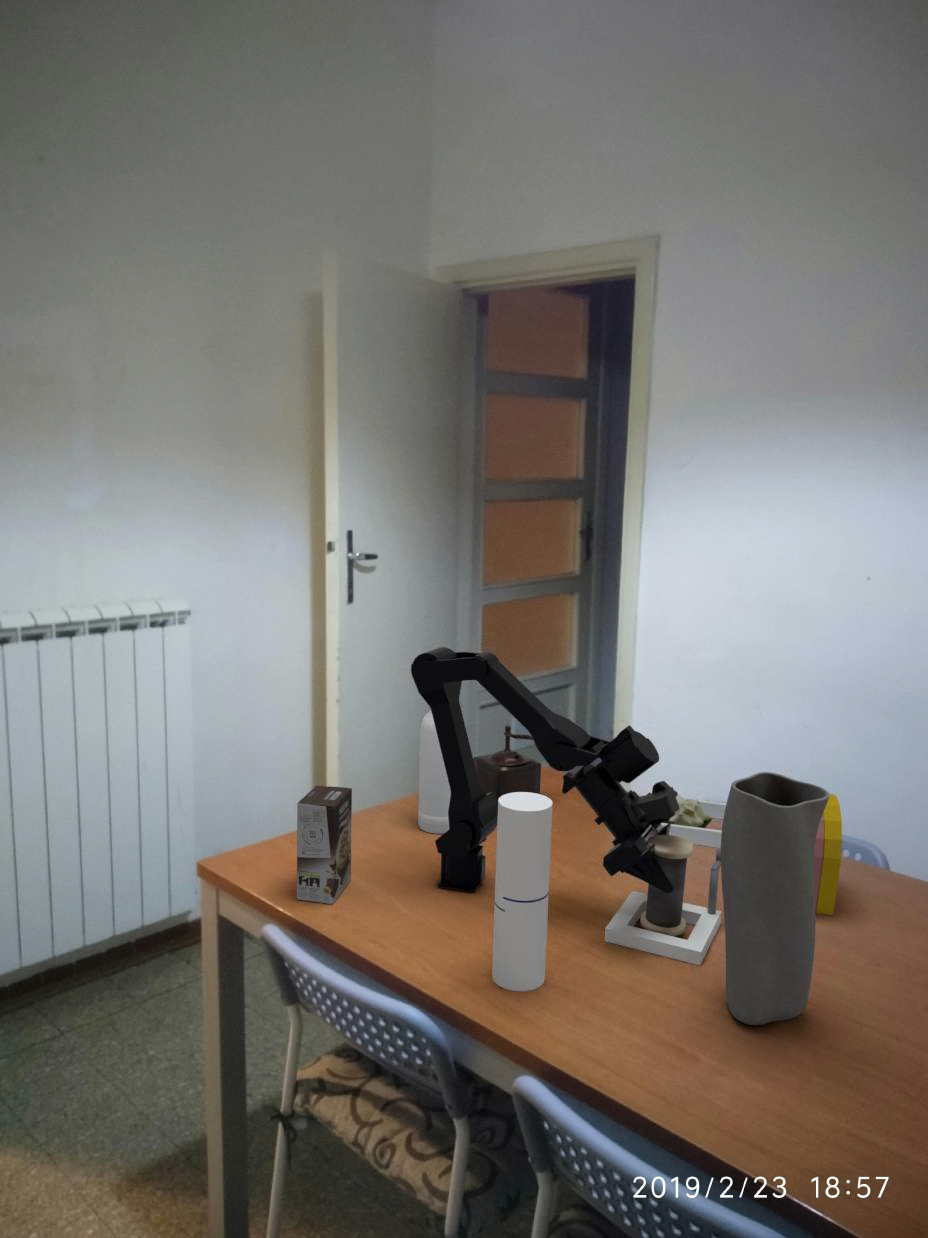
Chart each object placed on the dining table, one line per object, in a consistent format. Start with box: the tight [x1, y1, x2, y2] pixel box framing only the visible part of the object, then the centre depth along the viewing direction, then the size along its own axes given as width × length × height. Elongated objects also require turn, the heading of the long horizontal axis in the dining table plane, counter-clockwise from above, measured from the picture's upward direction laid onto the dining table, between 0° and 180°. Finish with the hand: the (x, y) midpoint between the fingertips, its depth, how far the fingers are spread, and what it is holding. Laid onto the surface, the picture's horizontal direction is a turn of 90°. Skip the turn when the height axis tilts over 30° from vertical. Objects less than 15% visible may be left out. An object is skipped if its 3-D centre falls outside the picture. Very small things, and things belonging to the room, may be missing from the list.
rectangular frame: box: [604, 848, 722, 966], centre depth 142 cm, size 14×16×11 cm
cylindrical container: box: [491, 792, 553, 992], centre depth 127 cm, size 7×7×25 cm
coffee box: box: [296, 785, 353, 905], centre depth 152 cm, size 9×6×16 cm
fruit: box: [663, 794, 713, 829], centre depth 181 cm, size 9×9×8 cm
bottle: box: [417, 709, 451, 835], centre depth 178 cm, size 8×8×30 cm
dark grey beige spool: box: [640, 835, 694, 937], centre depth 141 cm, size 7×7×13 cm
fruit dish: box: [661, 799, 727, 849], centre depth 183 cm, size 16×16×3 cm
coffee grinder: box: [473, 724, 542, 808], centre depth 193 cm, size 16×11×18 cm
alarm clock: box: [813, 793, 843, 916], centre depth 154 cm, size 15×8×18 cm, turn 168°
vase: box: [720, 771, 830, 1026], centre depth 120 cm, size 12×12×30 cm
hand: (675, 884), depth 140 cm, fingers closed on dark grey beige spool, 5 cm apart
